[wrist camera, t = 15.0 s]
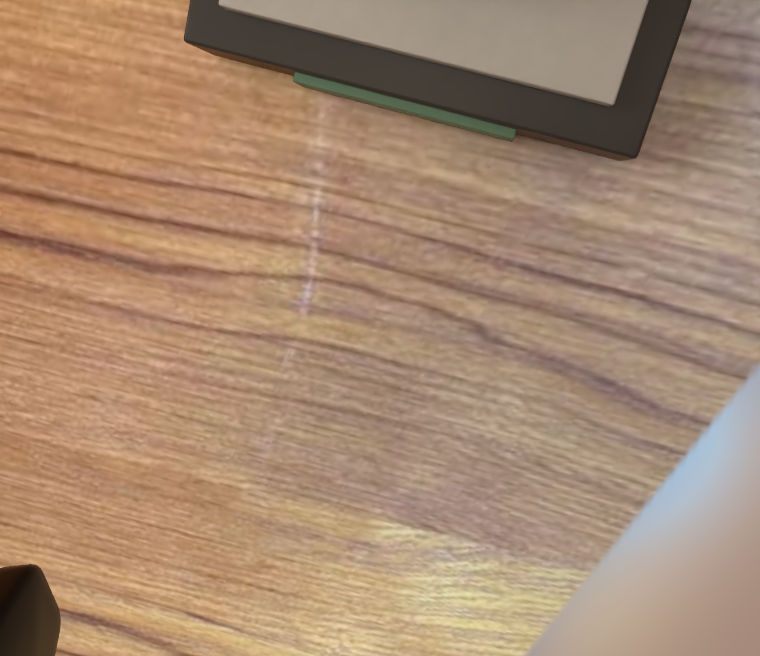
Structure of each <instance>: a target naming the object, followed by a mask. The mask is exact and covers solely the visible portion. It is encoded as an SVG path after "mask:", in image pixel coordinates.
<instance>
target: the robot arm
mask: <svg viewBox="0 0 760 656" xmlns="http://www.w3.org/2000/svg"><path fill="white" fill-rule="evenodd" d="M60 624H61V619H60V611H59V608H58V605H57V603H56V601H55V598H54V596H53V594H52V592H51V589H50V587H49V585H48V582H47V580H46V578H45V576H44V573H43V571H42V570H41V568H39V567H38V566H37V565H33V564H29V565H19V566H9V567H3V568H0V656H55V652H56V648H57V643H58V638H59V633H60Z"/></svg>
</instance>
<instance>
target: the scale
mask: <svg viewBox="0 0 760 656" xmlns="http://www.w3.org/2000/svg"><path fill="white" fill-rule="evenodd" d="M691 1H692V0H190V5H189V11H188V17H187V23H186V28H185V34H184V41H185V42H187V43H189V44H191V45H193V46H195V47H197V48H200V49H202V50H204V51H206V52H209V53H211V54H213V55H216V56H220V57H224V58H228V59H231V60H235V61H239V62H243V63H247V64H251V65H254V66H258V67H262V68H266V69H270V70H274V71H277V72H281V73H285V74H289V75H293V76H294V78H293V82H295V83H297V84H299V85H301V86H303V87H305V88H309V89H313V90H316V91H320V92H324V93H328V94H332V95H336V96H339V97H343V98H347V99H351V100H355V101H358V102H362V103H366V104H370V105H374V106H378V107H381V108H385V109H389V110H393V111H397V112H400V113H404V114H408V115H412V116H416V117H419V118H423V119H427V120H431V121H435V122H439V123H442V124H446V125H450V126H454V127H458V128H461V129H465V130H469V131H473V132H477V133H481V134H484V135H488V136H492V137H496V138H500V139H503V140H507V141H511V142H512V141H513V140H514V138H515V135H516V134H519V135H523V136H527V137H530V138H534V139H538V140H542V141H546V142H550V143H553V144H557V145H561V146H565V147H569V148H573V149H576V150H580V151H584V152H588V153H592V154H596V155H599V156H603V157H607V158H611V159H615V160H619V161H621V160H628V159H634V158H637V156H638V155H639V152H640V149H641V146H642V143H643V140H644V137H645V134H646V131H647V128H648V126H649V123H650V120H651V117H652V114H653V111H654V108H655V105H656V102H657V100H658V97H659V94H660V91H661V88H662V85H663V82H664V79H665V76H666V74H667V71H668V68H669V65H670V62H671V59H672V56H673V53H674V50H675V47H676V45H677V42H678V39H679V36H680V33H681V30H682V27H683V24H684V21H685V19H686V16H687V13H688V10H689V7H690V4H691Z"/></svg>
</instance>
